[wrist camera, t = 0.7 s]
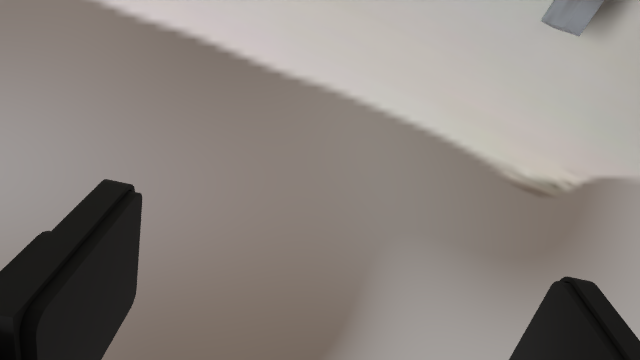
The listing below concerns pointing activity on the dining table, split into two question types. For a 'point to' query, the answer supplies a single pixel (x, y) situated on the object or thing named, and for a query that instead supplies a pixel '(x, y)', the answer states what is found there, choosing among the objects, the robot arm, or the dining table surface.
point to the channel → (571, 14)
